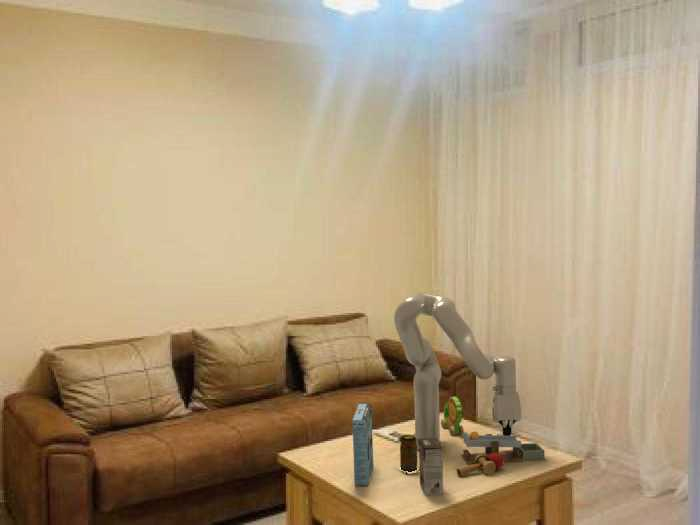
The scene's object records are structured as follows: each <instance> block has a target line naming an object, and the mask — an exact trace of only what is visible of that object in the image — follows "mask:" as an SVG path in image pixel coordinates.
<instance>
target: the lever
mask: <svg viewBox="0 0 700 525" xmlns="http://www.w3.org/2000/svg"><path fill="white" fill-rule="evenodd" d="M462 441H463V443H464V444H465V445H466V447H467V448H485V447H492V441H498V442H499V448H513V447H521V444H522V440H517V435H510V436H504V435H503V433H497V434H496V435H493V434H492V435H480V434H479V439H478V440H471V439H470V433H468V432H464V433H463V440H462Z"/></svg>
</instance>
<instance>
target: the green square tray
mask: <svg viewBox="0 0 700 525" xmlns="http://www.w3.org/2000/svg"><path fill="white" fill-rule="evenodd" d="M519 448H520V449H521V457H522V458H523V460H524V461H523V462H525V461H527V462H528V460H530V461H543V460H542V459H544V460H545V449H544V448H543V447H541V445H539V444H538V443H537V442H534V443H533V442H532V443H530V442H529V443H521V447H519Z"/></svg>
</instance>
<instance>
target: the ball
mask: <svg viewBox="0 0 700 525" xmlns="http://www.w3.org/2000/svg"><path fill="white" fill-rule="evenodd" d="M469 435H470V439H471V440H478V439H479V435H480V434H479V433H478V432H477V431H471V432H470V433H469Z"/></svg>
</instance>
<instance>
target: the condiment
mask: <svg viewBox="0 0 700 525" xmlns="http://www.w3.org/2000/svg"><path fill="white" fill-rule="evenodd" d="M400 439H401V440H400V445H399V446H400V448H399V452H400V453H399V456H400V460H399V461H400V462H399V463H400V464H399V466H400V467H401V470H403V471H408V472H412V471H415V470H417V467H418V451H417V444H416V437H415V436H414V435H413V434H403V435H402V436H401V437H400ZM418 468H419V470H418V471H420V467H418ZM403 471H401V472H402V473H403V474H405V475H408V473H407V472H406V473H404V472H403ZM418 471H417V473H416V474H419V473H418Z"/></svg>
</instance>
